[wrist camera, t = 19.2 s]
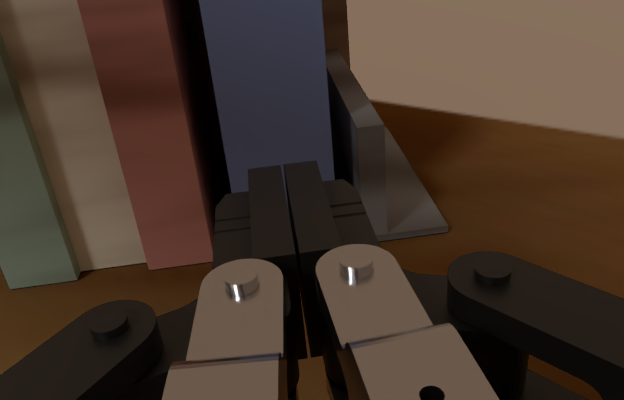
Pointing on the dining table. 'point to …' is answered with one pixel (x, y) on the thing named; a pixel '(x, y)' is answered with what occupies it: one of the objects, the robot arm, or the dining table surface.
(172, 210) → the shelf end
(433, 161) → the dining table surface
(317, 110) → the boxed book
